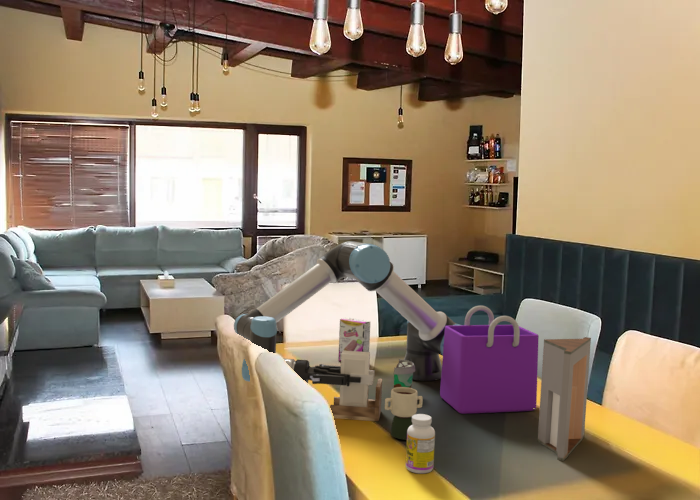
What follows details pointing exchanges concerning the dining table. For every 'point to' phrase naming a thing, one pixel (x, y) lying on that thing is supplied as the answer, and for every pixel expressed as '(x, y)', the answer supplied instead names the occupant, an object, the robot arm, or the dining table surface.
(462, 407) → the shopping bag
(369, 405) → the wooden holder
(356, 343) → the candy bar box
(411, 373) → the food container
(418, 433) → the supplement bottle
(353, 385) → the white rectangular box
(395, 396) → the character mug
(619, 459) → the dining table surface
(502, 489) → the dining table surface
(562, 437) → the grey tall angular block
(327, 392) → the dining table surface
